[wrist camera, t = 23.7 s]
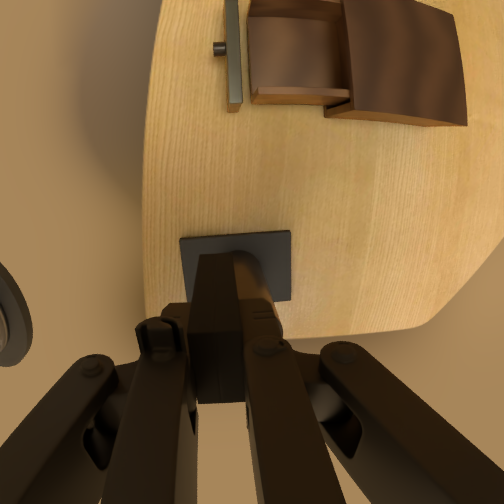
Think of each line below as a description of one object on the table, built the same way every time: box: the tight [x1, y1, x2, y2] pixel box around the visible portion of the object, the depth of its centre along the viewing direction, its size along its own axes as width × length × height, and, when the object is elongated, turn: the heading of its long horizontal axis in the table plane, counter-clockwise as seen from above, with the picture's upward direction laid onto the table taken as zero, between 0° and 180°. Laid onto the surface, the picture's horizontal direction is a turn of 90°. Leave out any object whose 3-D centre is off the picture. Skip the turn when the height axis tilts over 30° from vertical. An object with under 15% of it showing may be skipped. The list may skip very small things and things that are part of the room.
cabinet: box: [324, 0, 468, 127], centre depth 28 cm, size 15×14×9 cm
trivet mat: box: [179, 230, 291, 302], centre depth 38 cm, size 13×9×1 cm
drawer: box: [213, 0, 350, 113], centre depth 27 cm, size 15×13×7 cm
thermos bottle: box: [228, 250, 283, 338], centre depth 30 cm, size 6×6×16 cm
